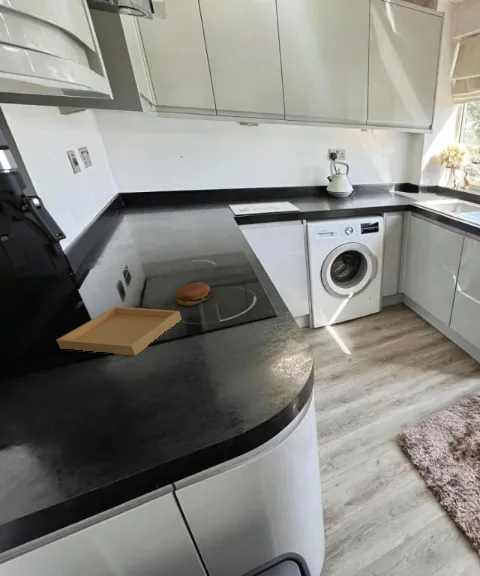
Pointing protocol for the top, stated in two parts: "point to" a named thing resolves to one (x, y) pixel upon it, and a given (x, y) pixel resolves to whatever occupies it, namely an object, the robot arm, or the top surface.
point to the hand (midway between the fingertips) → (40, 267)
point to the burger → (193, 294)
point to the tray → (120, 330)
